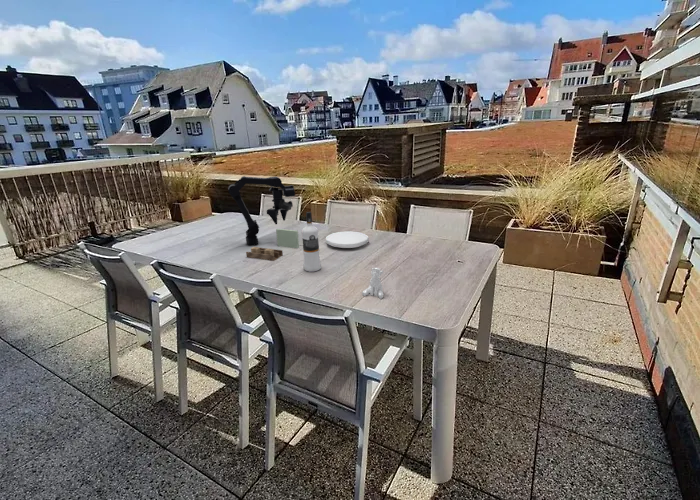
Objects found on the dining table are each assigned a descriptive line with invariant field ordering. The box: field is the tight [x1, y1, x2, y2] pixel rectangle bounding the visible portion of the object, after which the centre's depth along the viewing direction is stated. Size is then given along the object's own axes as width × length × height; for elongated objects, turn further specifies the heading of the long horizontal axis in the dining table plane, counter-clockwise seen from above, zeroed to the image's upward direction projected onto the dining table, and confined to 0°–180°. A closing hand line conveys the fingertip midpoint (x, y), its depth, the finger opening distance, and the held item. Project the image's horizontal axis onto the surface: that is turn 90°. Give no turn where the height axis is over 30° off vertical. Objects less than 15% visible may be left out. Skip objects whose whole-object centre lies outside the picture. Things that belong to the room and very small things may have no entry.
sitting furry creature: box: [361, 267, 384, 300], centre depth 150 cm, size 10×9×12 cm
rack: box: [245, 247, 284, 262], centre depth 196 cm, size 18×9×4 cm, turn 68°
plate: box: [325, 230, 370, 249], centre depth 216 cm, size 28×6×27 cm
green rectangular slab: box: [275, 228, 300, 249], centre depth 209 cm, size 14×2×11 cm, turn 68°
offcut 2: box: [264, 247, 274, 255], centre depth 192 cm, size 4×3×5 cm
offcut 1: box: [250, 246, 261, 253], centre depth 196 cm, size 4×3×5 cm
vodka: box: [301, 211, 322, 273], centre depth 175 cm, size 9×9×30 cm
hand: (280, 222), depth 218 cm, fingers open, 9 cm apart
